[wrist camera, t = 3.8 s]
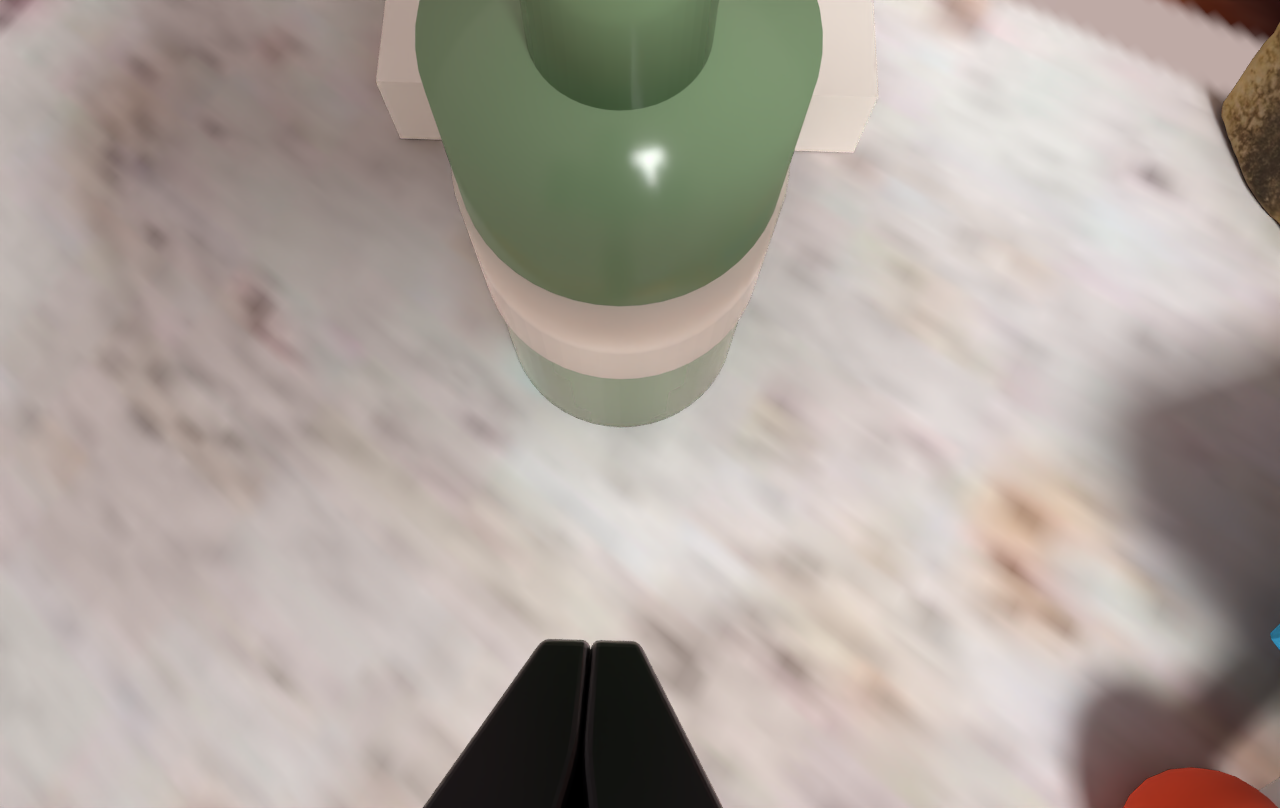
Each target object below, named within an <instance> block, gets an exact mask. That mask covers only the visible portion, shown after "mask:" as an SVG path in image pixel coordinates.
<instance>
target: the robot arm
mask: <svg viewBox="0 0 1280 808" xmlns="http://www.w3.org/2000/svg"><path fill="white" fill-rule="evenodd" d="M423 808H723V807H722V805H721V803H720V801H719V799H718V797H717V795H716V793H715V791H714V789H713V787H712V785H711V783H710V781H709V779H708V777H707V775H706V773H705V771H704V769H703V767H702V765H701V763H700V761H699V759H698V757H697V755H696V753H695V751H694V749H693V747H692V745H691V743H690V741H689V739H688V737H687V735H686V733H685V732H684V730H683V728H682V726H681V724H680V722H679V720H678V718H677V716H676V714H675V712H674V710H673V708H672V706H671V704H670V702H669V700H668V698H667V696H666V694H665V692H664V690H663V688H662V686H661V684H660V682H659V680H658V678H657V676H656V674H655V672H654V670H653V668H652V666H651V664H650V662H649V660H648V658H647V656H646V654H645V652H644V650H643V649H642V647H641V646H640V645H639V644H638V643H636V642H634V641H603V640H600V641H596V642H595V643H593V645H592V647H591V650H590V646H589V644H588V643H587V642H586V641H584V640H562V639H547V640H545V641H543V642H541V643H540V644H539V645H538V647H537V648H536V649H535V651H534V652H533V653H532V655H531V656H530V658H529V659H528V660H527V662H526V663H525V665H524V666H523V667H522V669H521V670H520V672H519V673H518V675H517V676H516V677H515V679H514V680H513V682H512V683H511V684H510V686H509V687H508V689H507V690H506V691H505V693H504V694H503V696H502V697H501V698H500V700H499V701H498V703H497V704H496V705H495V707H494V708H493V710H492V711H491V712H490V714H489V715H488V717H487V718H486V720H485V721H484V722H483V724H482V725H481V727H480V728H479V729H478V731H477V732H476V734H475V735H474V736H473V738H472V739H471V741H470V742H469V743H468V745H467V746H466V748H465V749H464V750H463V752H462V753H461V755H460V756H459V758H458V759H457V760H456V762H455V763H454V765H453V766H452V767H451V769H450V770H449V772H448V773H447V774H446V776H445V777H444V779H443V780H442V781H441V783H440V784H439V786H438V787H437V788H436V790H435V791H434V793H433V794H432V796H431V797H430V798H429V800H428V801H427V803H426V804H425V805H424V807H423Z"/></svg>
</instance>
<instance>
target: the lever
mask: <svg viewBox="0 0 1280 808" xmlns="http://www.w3.org/2000/svg"><path fill="white" fill-rule="evenodd" d="M1270 635H1271V640H1272V641H1273V642H1274V643H1275V645H1276V646H1277V647H1278V649H1279V650H1280V624H1279V625H1278V626H1277V627H1276V628H1275V629H1274V630H1273V631H1272V632H1271V633H1270ZM1123 808H1280V777H1279V778H1278V779H1276V780H1274V781H1273V782H1271V783H1270V784H1268V785H1267V786H1265V787H1264V788H1262V789H1261V790H1257V789H1256V788H1254V787H1252V786H1251V785H1249V784H1247V783H1246V782H1244V781H1242V780H1241V779H1239V778H1237V777H1235V776H1232V775H1229V774H1226V773H1223V772H1220V771H1216V770H1210V769H1201V768H1193V767H1190V768H1179V769H1169V770H1167V771H1164V772H1162V773H1160V774H1157V775H1155V776H1152V777H1150V778H1148V779H1146V780H1145V781H1144V782H1143V783H1142V784H1141V785H1140V786H1139V787H1138V788H1137V789H1136V790H1135V791H1133V792H1132V793H1131V794H1130V795H1129V797H1128V799H1127V801H1126V803H1125V805H1124V807H1123Z"/></svg>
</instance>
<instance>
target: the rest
mask: <svg viewBox="0 0 1280 808" xmlns="http://www.w3.org/2000/svg"><path fill="white" fill-rule="evenodd" d="M419 1H420V0H385V8H384V16H383V24H382V33H381V41H380V49H379V58H378V66H377V74H376V83H377V86H378V88H379V90H380V93H381V95H382V97H383V100H384V102H385V104H386V106H387V109H388V111H389V113H390V116H391V118H392V120H393V123H394V125H395V127H396V130H397V132H398V134H399V137H400V138H401V139H433V140H442V139H441V136H440V134H439V131H438V128H437V125H436V122H435V119H434V116H433V114H432V111H431V108H430V105H429V102H428V99H427V96H426V94H425V90H424V87H423V84H422V81H421V77H420V74H419V71H418V65H417V58H416V51H415V24H416V18H417V12H418V6H419ZM817 1H818V4H819V8H820V14H821V21H822V29H823V50H822V59H821V65H820V71H819V76H818V80H817V83H816V86H815V89H814V92H813V95H812V98H811V101H810V104H809V107H808V110H807V113H806V116H805V119H804V122H803V125H802V128H801V131H800V134H799V138H798V141H797V144H796V147H795V150H794V151H820V152H852V153H854V150H855V148H856V146H857V144H858V141H859V139H860V137H861V135H862V133H863V130H864V128H865V126H866V124H867V122H868V119H869V117H870V115H871V113H872V110H873V108H874V106H875V104H876V102H877V99H878V79H877V60H876V41H875V23H874V4H873V0H817Z"/></svg>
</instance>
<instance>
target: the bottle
mask: <svg viewBox="0 0 1280 808" xmlns="http://www.w3.org/2000/svg"><path fill="white" fill-rule="evenodd" d="M822 50H823V29H822V21H821V14H820V8H819V4H818V1H817V0H420V1H419V6H418V12H417V18H416V24H415V51H416V58H417V65H418V71H419V74H420V77H421V81H422V84H423V87H424V90H425V94H426V96H427V99H428V102H429V105H430V108H431V111H432V114H433V116H434V119H435V122H436V125H437V128H438V131H439V134H440V136H441V139H442V142H443V145H444V148H445V151H446V153H447V156H448V159H449V162H450V165H451V173H452V180H453V186H454V192H455V195H456V199H457V202H458V205H459V208H460V211H461V214H462V217H463V220H464V222H465V225H466V228H467V231H468V233H469V236H470V239H471V242H472V244H473V247H474V250H475V253H476V255H477V258H478V261H479V264H480V266H481V269H482V272H483V275H484V277H485V280H486V283H487V285H488V288H489V291H490V294H491V296H492V298H493V300H494V302H495V305H496V307H497V309H498V311H499V312H500V314H501V315H502V317H503V318H504V320H505V322H506V325H507V327H508V330H509V333H510V336H511V339H512V342H513V344H514V347H515V350H516V353H517V356H518V359H519V361H520V363H521V365H522V367H523V369H524V372H525V373H526V375H527V376H528V378H529V379H530V381H531V382H532V384H533V385H534V386H535V387H536V388H537V390H538V391H539V392H540V393H541V394H542V395H543V396H544V397H545V398H546V399H548V400H549V401H550V402H551V403H552V404H554V405H555V406H557V407H558V408H560V409H561V410H563V411H564V412H566V413H568V414H570V415H572V416H574V417H576V418H578V419H581V420H584V421H587V422H590V423H594V424H599V425H604V426H613V427H632V426H640V425H646V424H651V423H654V422H657V421H660V420H664V419H666V418H668V417H670V416H673V415H675V414H677V413H679V412H680V411H682V410H683V409H685V408H687V407H688V406H690V405H691V404H692V403H693V402H695V401H696V400H697V399H698V398H699V397H701V396H702V395H703V393H704V392H705V391H706V390H707V389H708V388H709V387H710V386H711V384H712V383H713V381H714V380H715V379H716V377H717V376H718V374H719V372H720V370H721V368H722V366H723V364H724V362H725V360H726V357H727V354H728V351H729V348H730V345H731V342H732V339H733V336H734V333H735V330H736V327H737V324H738V321H739V318H740V317H741V316H742V314H743V312H744V311H745V309H746V307H747V305H748V303H749V301H750V299H751V296H752V293H753V290H754V287H755V284H756V281H757V278H758V275H759V273H760V270H761V267H762V264H763V261H764V258H765V255H766V252H767V249H768V246H769V243H770V240H771V237H772V234H773V232H774V229H775V226H776V223H777V220H778V217H779V214H780V211H781V208H782V205H783V202H784V199H785V196H786V191H787V185H788V180H789V165H790V162H791V159H792V156H793V153H794V150H795V147H796V144H797V141H798V138H799V134H800V131H801V128H802V125H803V122H804V119H805V116H806V113H807V110H808V107H809V104H810V101H811V98H812V95H813V92H814V89H815V86H816V83H817V80H818V76H819V71H820V65H821V59H822Z"/></svg>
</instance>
